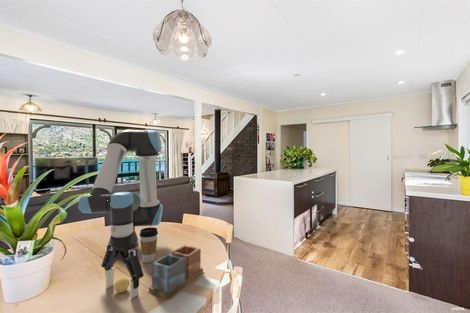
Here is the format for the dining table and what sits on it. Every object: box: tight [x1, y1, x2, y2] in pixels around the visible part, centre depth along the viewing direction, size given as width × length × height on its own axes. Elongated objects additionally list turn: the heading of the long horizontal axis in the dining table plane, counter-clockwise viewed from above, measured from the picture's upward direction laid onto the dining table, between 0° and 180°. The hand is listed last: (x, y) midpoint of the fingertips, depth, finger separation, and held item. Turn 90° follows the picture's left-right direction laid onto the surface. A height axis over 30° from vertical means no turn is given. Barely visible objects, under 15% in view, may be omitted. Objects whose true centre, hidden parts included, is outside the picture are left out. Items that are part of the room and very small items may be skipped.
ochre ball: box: [113, 276, 130, 294], centre depth 85 cm, size 5×5×5 cm
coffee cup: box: [139, 226, 159, 263], centre depth 110 cm, size 8×8×15 cm
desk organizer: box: [148, 244, 204, 300], centre depth 92 cm, size 10×21×10 cm, turn 154°
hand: (121, 291), depth 84 cm, fingers open, 13 cm apart
